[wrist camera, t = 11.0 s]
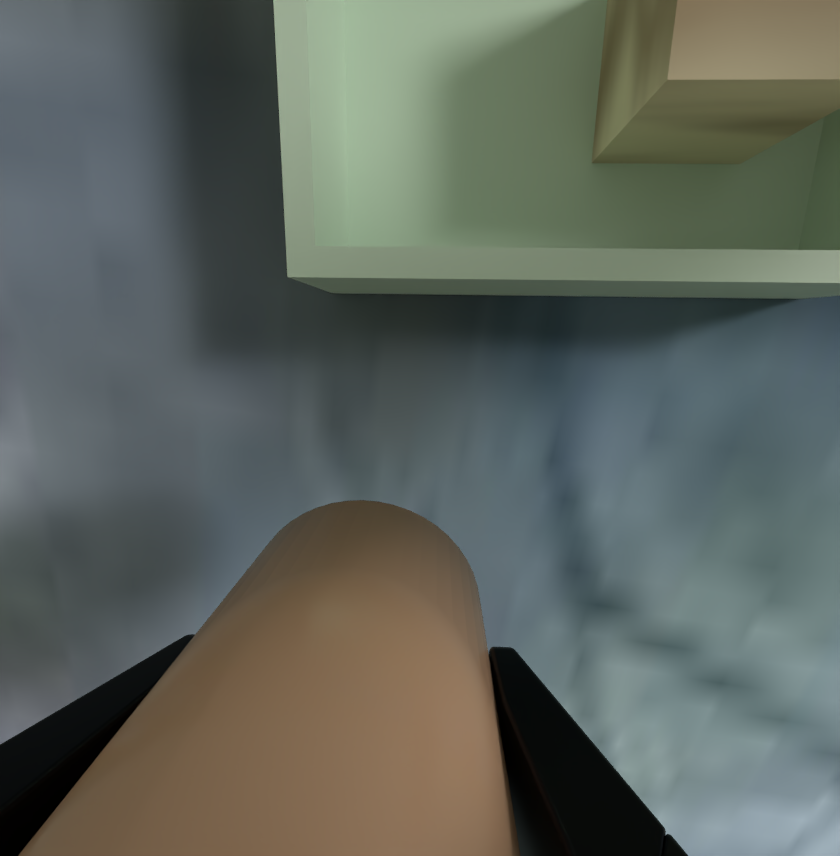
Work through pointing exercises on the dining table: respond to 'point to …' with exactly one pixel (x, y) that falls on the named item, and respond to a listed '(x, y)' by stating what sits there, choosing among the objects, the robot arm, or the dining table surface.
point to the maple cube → (713, 78)
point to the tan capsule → (314, 712)
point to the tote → (518, 166)
